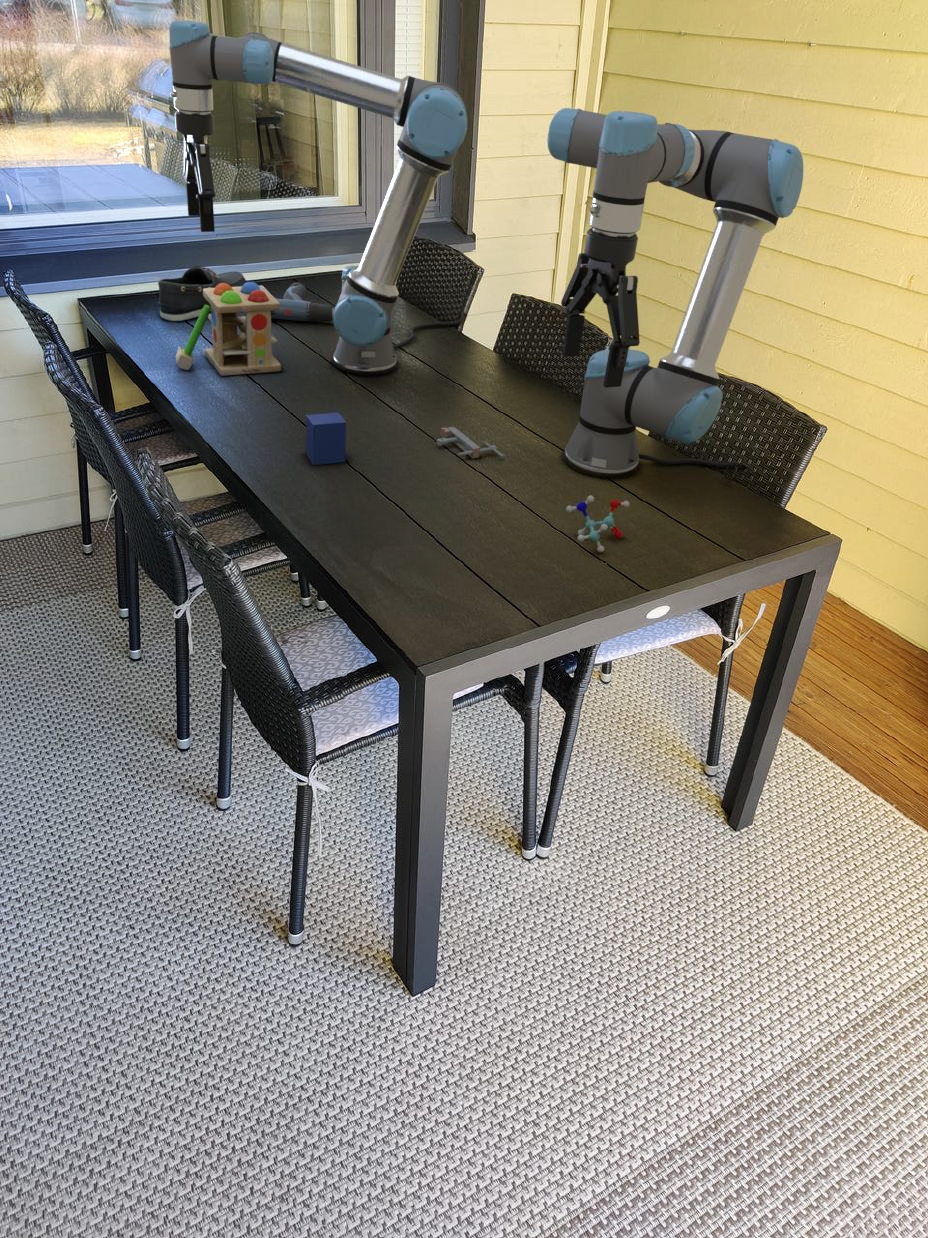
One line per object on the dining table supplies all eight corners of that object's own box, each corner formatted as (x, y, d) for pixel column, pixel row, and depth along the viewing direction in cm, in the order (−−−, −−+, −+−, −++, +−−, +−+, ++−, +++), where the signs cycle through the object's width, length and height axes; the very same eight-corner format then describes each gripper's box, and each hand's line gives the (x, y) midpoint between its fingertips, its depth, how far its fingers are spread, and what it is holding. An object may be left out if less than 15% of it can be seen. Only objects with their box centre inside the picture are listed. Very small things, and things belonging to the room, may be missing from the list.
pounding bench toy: (183, 379, 220) (176, 299, 210) (169, 357, 231) (162, 280, 221) (282, 371, 230) (280, 294, 220) (264, 350, 240) (262, 276, 230)
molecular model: (629, 546, 167) (611, 490, 165) (576, 561, 170) (559, 506, 169) (639, 535, 177) (623, 482, 176) (590, 549, 181) (573, 498, 179)
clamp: (428, 429, 204) (470, 423, 208) (427, 439, 205) (469, 432, 209) (464, 459, 193) (507, 451, 198) (463, 469, 194) (506, 461, 199)
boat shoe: (265, 300, 274) (264, 261, 269) (177, 323, 251) (173, 281, 245) (232, 291, 280) (229, 254, 275) (142, 313, 256) (138, 272, 251)
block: (306, 454, 194) (305, 414, 190) (338, 451, 197) (338, 412, 192) (313, 465, 191) (313, 424, 186) (345, 461, 193) (346, 421, 188)
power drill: (344, 304, 276) (335, 327, 259) (277, 298, 275) (264, 321, 258) (344, 285, 273) (335, 306, 256) (277, 279, 272) (264, 300, 255)
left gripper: (163, 100, 203) (172, 209, 215) (186, 121, 185) (194, 238, 197) (200, 102, 206) (207, 209, 218) (226, 122, 187) (232, 237, 199)
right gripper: (551, 210, 152) (534, 345, 164) (635, 253, 133) (609, 401, 145) (594, 210, 154) (574, 342, 166) (681, 252, 136) (652, 398, 148)
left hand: (201, 223), depth 207 cm, fingers open, 13 cm apart
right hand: (590, 370), depth 156 cm, fingers open, 13 cm apart
